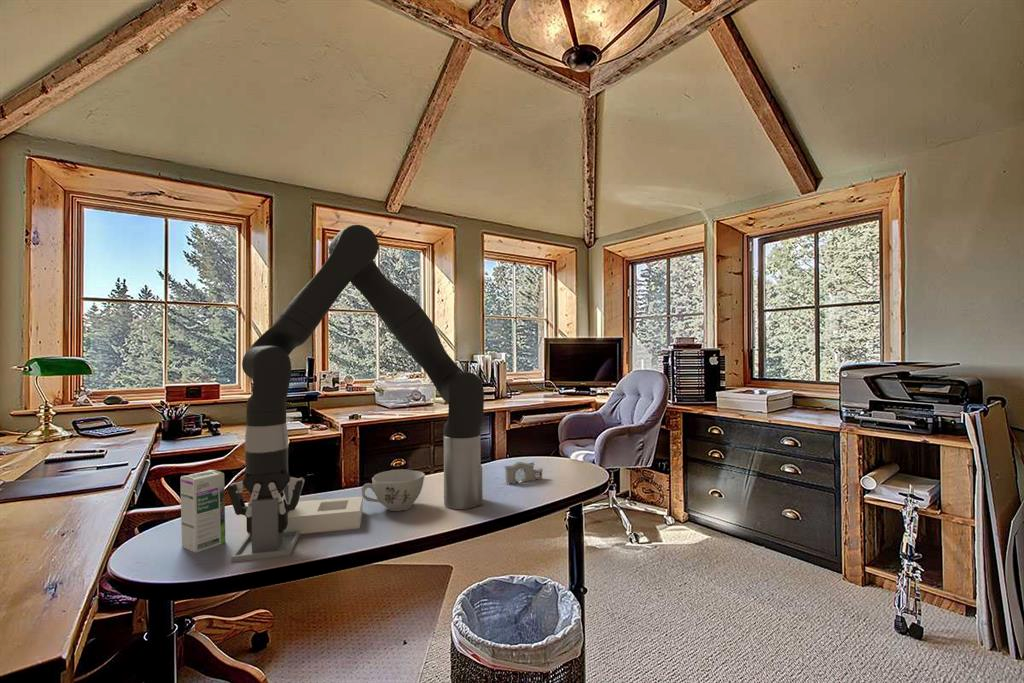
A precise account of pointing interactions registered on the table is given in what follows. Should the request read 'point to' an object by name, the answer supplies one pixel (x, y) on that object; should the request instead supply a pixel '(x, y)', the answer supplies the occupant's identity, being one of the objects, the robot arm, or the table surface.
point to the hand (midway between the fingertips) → (267, 532)
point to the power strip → (324, 514)
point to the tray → (284, 550)
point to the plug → (265, 525)
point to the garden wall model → (528, 473)
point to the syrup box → (202, 510)
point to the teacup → (395, 488)
